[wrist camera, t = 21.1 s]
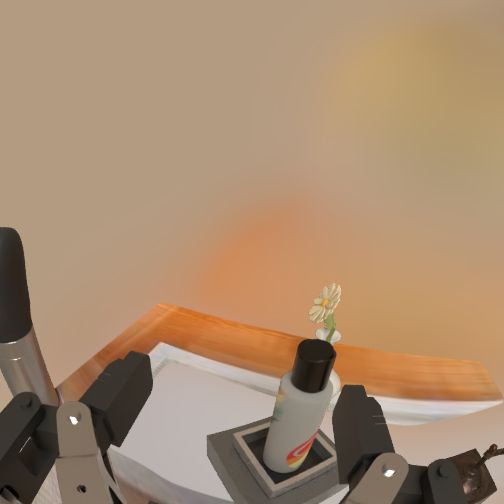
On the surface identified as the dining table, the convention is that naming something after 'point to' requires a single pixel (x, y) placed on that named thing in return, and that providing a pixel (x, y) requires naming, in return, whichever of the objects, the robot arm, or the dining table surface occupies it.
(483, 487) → the bronze sculpture
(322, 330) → the flower in vase
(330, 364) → the lotion bottle
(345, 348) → the dining table surface
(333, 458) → the gray square holder
